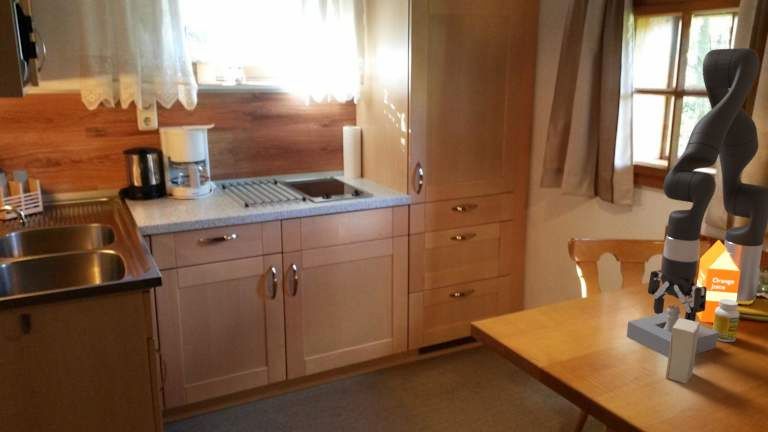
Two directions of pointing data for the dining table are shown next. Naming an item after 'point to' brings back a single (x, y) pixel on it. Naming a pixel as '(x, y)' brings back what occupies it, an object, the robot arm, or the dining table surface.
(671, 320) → the rook chess piece
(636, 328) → the socket block
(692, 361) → the skincare box
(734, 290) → the orange juice
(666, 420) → the dining table surface
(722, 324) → the supplement bottle
